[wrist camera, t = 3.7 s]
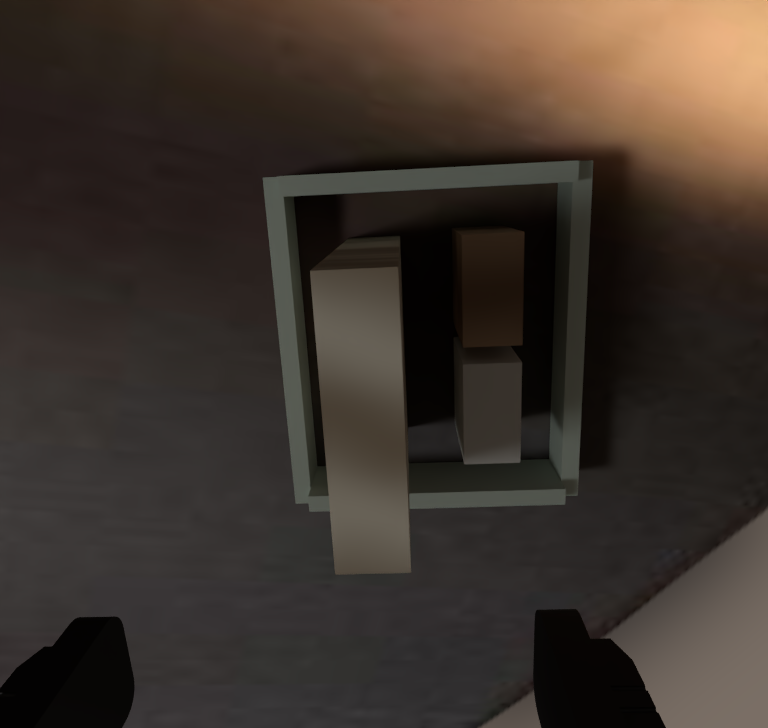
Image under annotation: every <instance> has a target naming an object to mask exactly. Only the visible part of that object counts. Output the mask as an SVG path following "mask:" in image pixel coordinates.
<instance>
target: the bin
mask: <svg viewBox="0 0 768 728" xmlns="http://www.w3.org/2000/svg"><path fill="white" fill-rule="evenodd" d="M592 179H593V160H590V161H579V160H576V161H557V162H538V163H519V164H500V165H481V166H462V167H443V168H424V169H405V170H386V171H367V172H348V173H330V174H311V175H292V176H278V177H267V178H263V185H264V195H265V205H266V215H267V225H268V235H269V245H270V254H271V264H272V274H273V284H274V294H275V304H276V314H277V324H278V333H279V343H280V353H281V363H282V373H283V383H284V393H285V402H286V412H287V422H288V432H289V442H290V452H291V462H292V472H293V481H294V491H295V501H296V504H299V503H309V512H314V511H330V505H329V493H328V481H327V469H326V466H317V455H316V443H315V432H314V421H313V409H312V398H311V387H310V375H309V364H308V353H307V341H306V330H305V318H304V307H303V296H302V284H301V273H300V262H299V250H298V239H297V228H296V216H295V205H294V196H311V195H330V194H350V193H369V192H389V191H409V190H428V189H448V188H467V187H487V186H506V185H526V184H545V183H558V196H557V228H556V259H555V291H554V323H553V354H552V386H551V417H550V449H549V459H533V460H520V463H493V464H464V462H437V463H409V505H410V509H422V508H457V507H493V506H529V505H565V496H578V476H579V455H580V433H581V412H582V391H583V370H584V349H585V327H586V306H587V285H588V264H589V242H590V221H591V200H592Z"/></svg>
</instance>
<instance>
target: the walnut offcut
mask: <svg viewBox="0 0 768 728" xmlns="http://www.w3.org/2000/svg"><path fill="white" fill-rule="evenodd" d="M524 233H525V232H523V231H520V230H516V229H513V228H510V227H507V226H504V225H502V226H481V227H461V228H452V281H453V323H454V326H455V329H456V331H457V334H458V336H459V339H460V341H461V344H462V346H463V348H466V347H491V346H517V345H523V291H524Z"/></svg>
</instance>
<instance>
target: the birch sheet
mask: <svg viewBox="0 0 768 728" xmlns="http://www.w3.org/2000/svg"><path fill="white" fill-rule="evenodd" d="M310 278H311V290H312V302H313V314H314V326H315V337H316V349H317V361H318V373H319V385H320V397H321V409H322V421H323V433H324V445H325V457H326V469H327V481H328V493H329V505H330V517H331V529H332V541H333V553H334V565H335V575H336V574H379V573H411V550H410V505H409V459H408V420H407V395H406V371H405V346H404V322H403V297H402V272H401V248H400V236H384V237H363V238H348V239H347V240H346V241H345V242H344V243H342V244H341V245H340V246H339V247H338V248H336V249H335V250H334V251H333V252H332V253H331V254H329V255H328V256H327V257H326V258H325V259H323V260H322V261H321V262H320V263H319V264H317V265H316V266H315V267H314V268H313V269H312V270H310Z"/></svg>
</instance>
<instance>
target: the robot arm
mask: <svg viewBox="0 0 768 728" xmlns="http://www.w3.org/2000/svg"><path fill="white" fill-rule="evenodd" d="M533 682H534V693H535V701H536V707H537V712H538V716H539V720H540V724H541V728H666V727H665V725H664V723H663V721H662V719H661V717H660V715H659V713H657V712H656V707H655V705H654V703H653V701H652V699H651V697H650V695H649V693H648V691H646V689H645V684H644V682H643V680H642V678H641V676H640V674H639V673H638V671H637V668H636V666H635V664H634V662H633V660H632V659H631V658H630V657H629V656H628V655H627V654H626V653H625V652H623V650H622V649H621V648H619V647H618V646H617V645H616V644H615V643H614V642H613V641H612V640H611V639H590V637H589V635H588V632H587V630H586V627H585V625H584V623H583V620H582V618H581V616H580V614H579V612H578V610H576V609H558V610H537V611H536V613H535V631H534V668H533ZM133 697H134V677H133V672H132V667H131V662H130V657H129V652H128V647H127V642H126V637H125V633H124V628H123V624H122V621H121V620H120V619H119V618H118V617H79V618H76V619H75V620H73V621H72V622H71V623H70V625H69V626H68V627H67V628H66V630H65V631H64V632H63V634H62V635H61V636H60V637H59V639H58V640H57V641H56V643H55V644H54V645H53V646H52V647H44V648H42V649H41V650H40V651H38V652H37V653H36V654H34V655H33V656H32V657H30V658H29V659H28V660H26V661H25V662H24V663H23V664H21V665H20V666H19V667H17V668H16V669H15V671H14V672H13V673H12V674H11V676H10V677H9V678H8V679H7V680H6V682H5V683H4V684H3V685H2V687H1V688H0V728H122V727H123V725H124V723H125V721H126V719H127V717H128V715H129V712H130V710H131V706H132V702H133Z"/></svg>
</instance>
